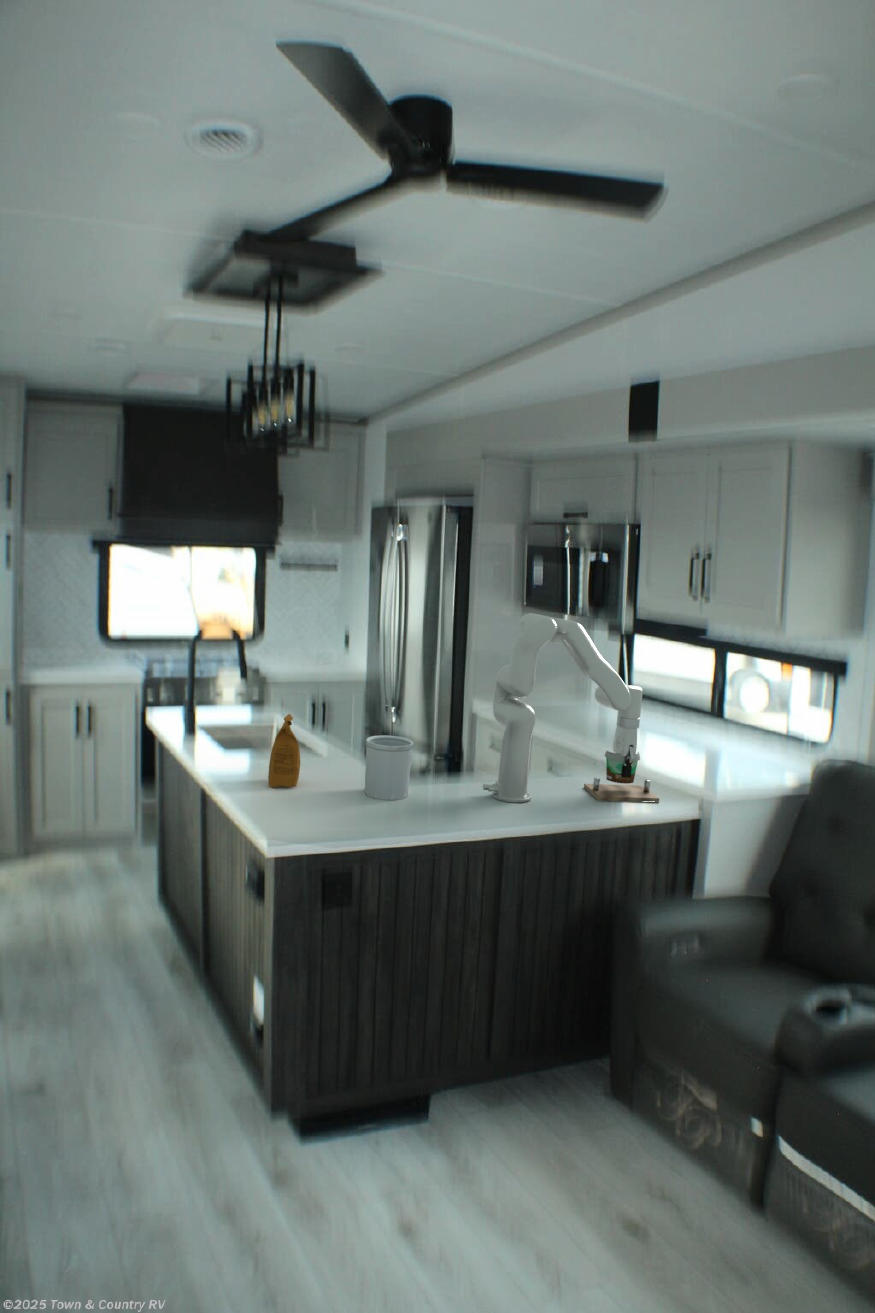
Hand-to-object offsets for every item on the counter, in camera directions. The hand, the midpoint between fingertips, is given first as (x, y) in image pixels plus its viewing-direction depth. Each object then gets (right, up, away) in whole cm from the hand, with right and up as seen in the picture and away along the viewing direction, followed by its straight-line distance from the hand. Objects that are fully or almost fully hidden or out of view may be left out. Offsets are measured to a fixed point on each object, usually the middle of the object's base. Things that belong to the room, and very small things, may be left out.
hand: (622, 774), depth 336 cm
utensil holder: (-79, -4, -21) cm, 82 cm away
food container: (0, -3, 0) cm, 3 cm away
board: (-1, -7, +1) cm, 7 cm away
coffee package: (-112, -1, -19) cm, 113 cm away
